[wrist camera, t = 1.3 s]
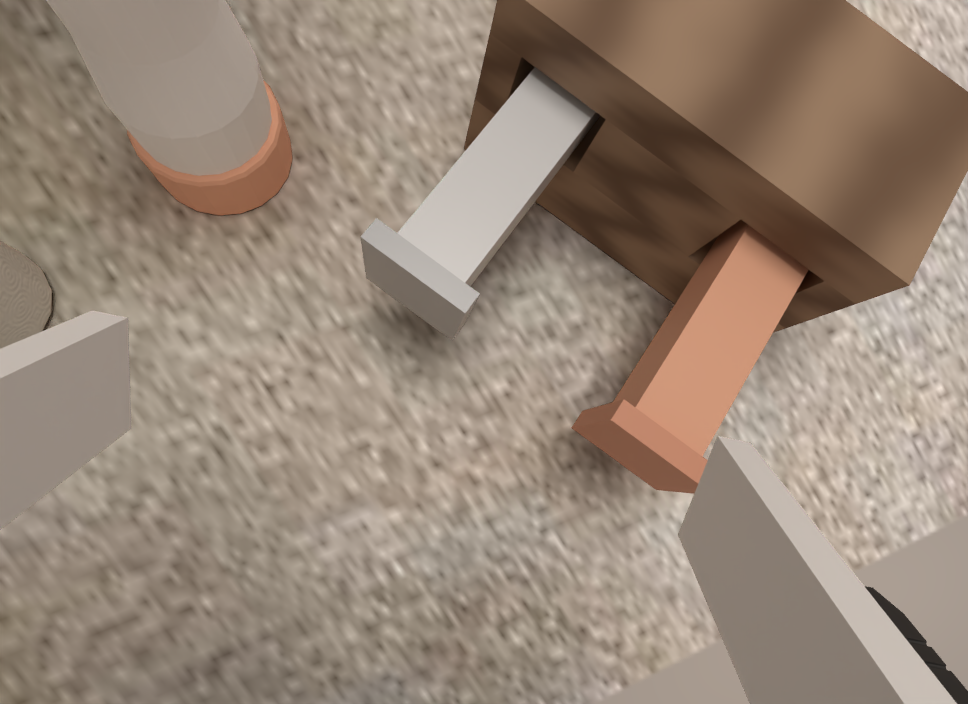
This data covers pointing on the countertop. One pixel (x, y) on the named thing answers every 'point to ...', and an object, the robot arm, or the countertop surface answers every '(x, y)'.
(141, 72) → the salt shaker
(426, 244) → the plug grey
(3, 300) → the paper towel roll
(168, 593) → the countertop surface
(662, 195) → the block
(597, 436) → the plug terracotta
